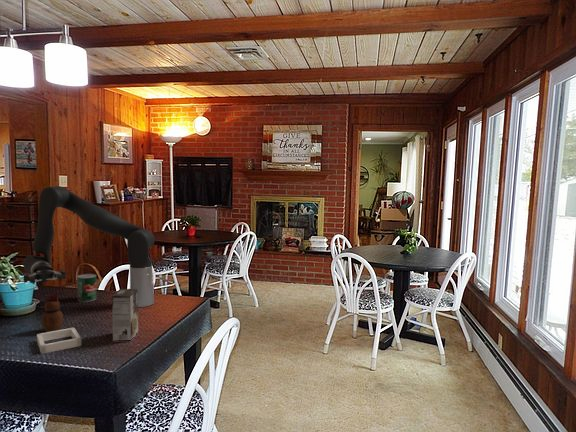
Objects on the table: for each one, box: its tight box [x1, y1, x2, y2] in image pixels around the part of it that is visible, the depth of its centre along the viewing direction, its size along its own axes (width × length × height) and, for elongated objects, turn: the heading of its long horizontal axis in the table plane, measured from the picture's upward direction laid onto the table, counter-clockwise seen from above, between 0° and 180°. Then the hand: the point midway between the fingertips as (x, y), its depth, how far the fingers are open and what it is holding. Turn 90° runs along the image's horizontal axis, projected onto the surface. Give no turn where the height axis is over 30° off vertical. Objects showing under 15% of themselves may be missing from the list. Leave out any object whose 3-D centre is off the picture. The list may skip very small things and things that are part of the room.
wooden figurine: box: [41, 289, 64, 332], centre depth 146 cm, size 7×6×15 cm
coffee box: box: [111, 288, 139, 342], centre depth 143 cm, size 9×6×16 cm
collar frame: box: [36, 327, 82, 355], centre depth 136 cm, size 11×12×2 cm
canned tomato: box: [76, 273, 97, 303], centre depth 185 cm, size 8×8×11 cm
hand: (47, 279), depth 154 cm, fingers open, 8 cm apart
